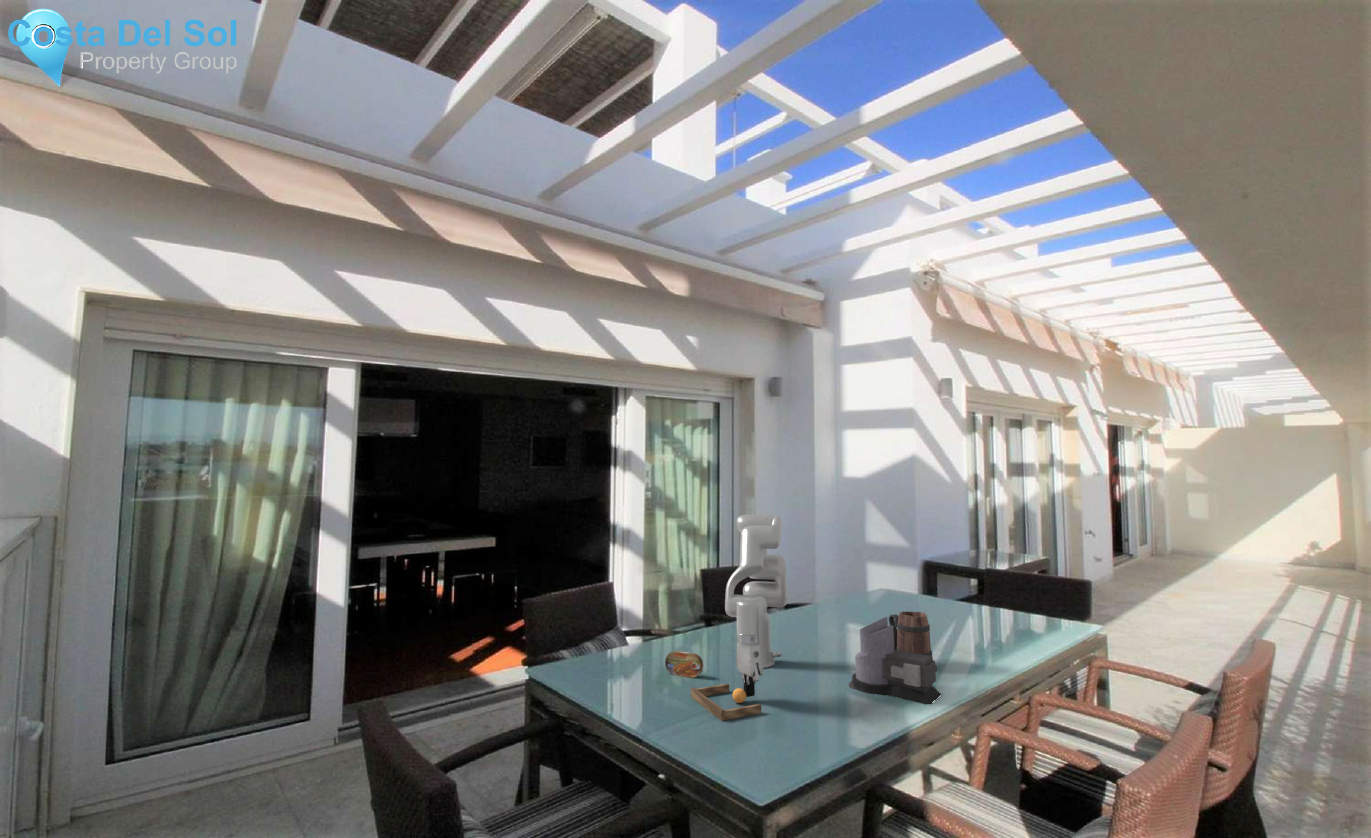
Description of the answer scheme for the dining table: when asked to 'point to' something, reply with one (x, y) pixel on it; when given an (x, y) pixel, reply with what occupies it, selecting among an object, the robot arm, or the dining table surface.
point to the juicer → (892, 667)
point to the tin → (684, 664)
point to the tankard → (911, 633)
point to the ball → (739, 695)
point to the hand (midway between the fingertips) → (749, 695)
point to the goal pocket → (716, 710)
